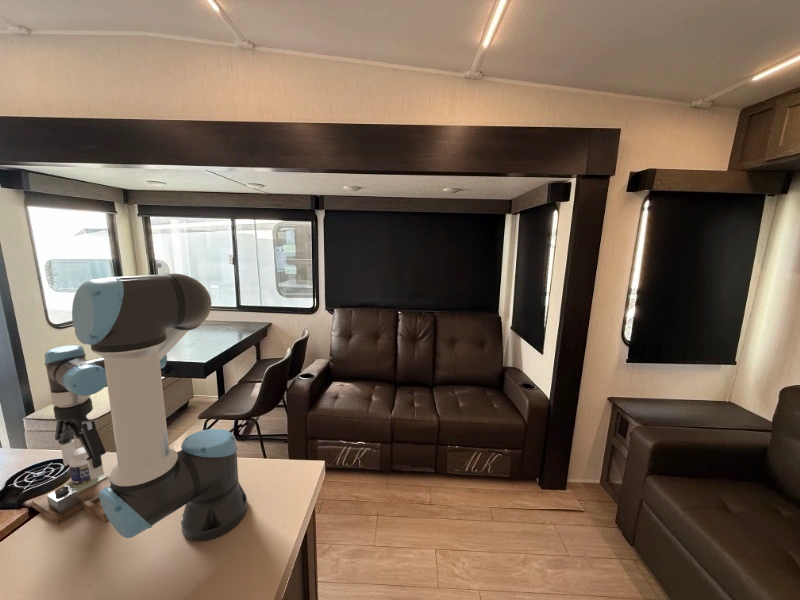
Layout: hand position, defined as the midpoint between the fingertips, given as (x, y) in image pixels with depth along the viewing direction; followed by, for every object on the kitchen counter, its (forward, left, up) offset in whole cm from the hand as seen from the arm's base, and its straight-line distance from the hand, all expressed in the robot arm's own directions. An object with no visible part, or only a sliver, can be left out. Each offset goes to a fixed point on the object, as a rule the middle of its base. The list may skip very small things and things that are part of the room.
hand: (83, 469), depth 94 cm
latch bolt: (-6, +7, -4) cm, 10 cm away
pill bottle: (0, 0, -4) cm, 4 cm away
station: (-8, +3, -5) cm, 10 cm away
